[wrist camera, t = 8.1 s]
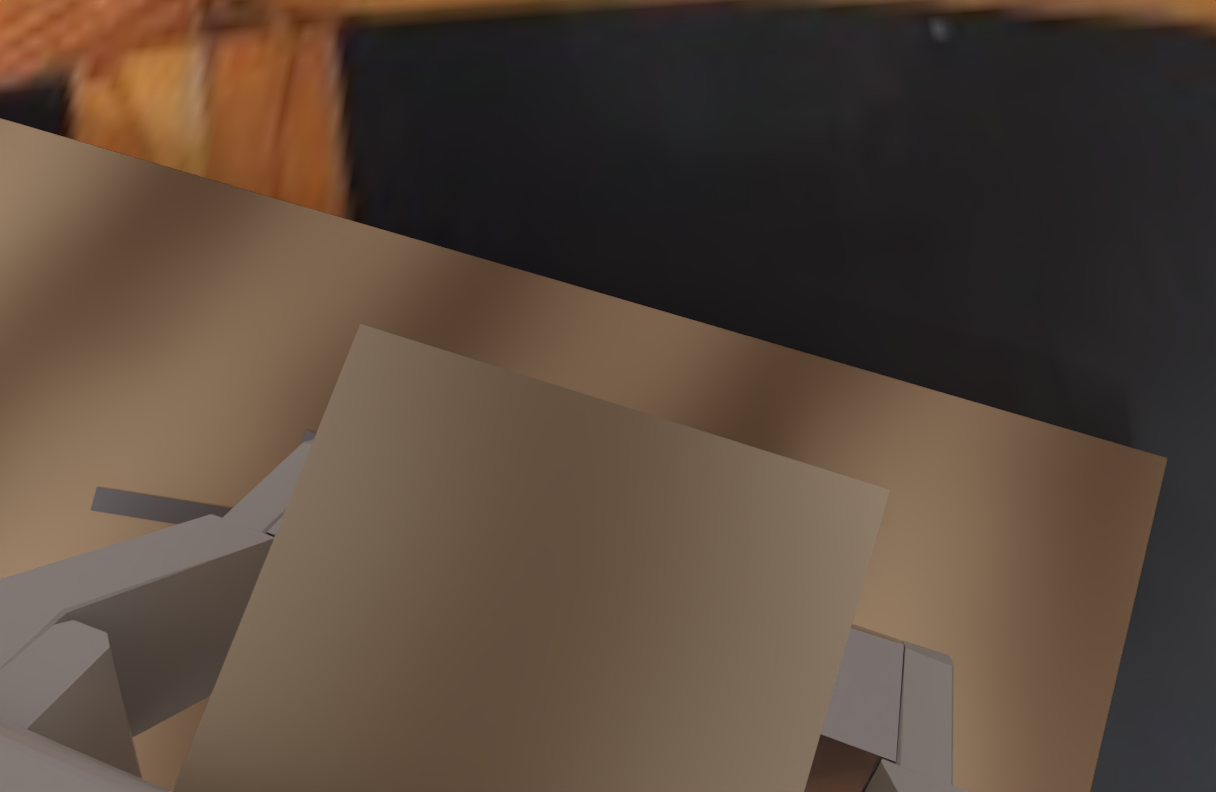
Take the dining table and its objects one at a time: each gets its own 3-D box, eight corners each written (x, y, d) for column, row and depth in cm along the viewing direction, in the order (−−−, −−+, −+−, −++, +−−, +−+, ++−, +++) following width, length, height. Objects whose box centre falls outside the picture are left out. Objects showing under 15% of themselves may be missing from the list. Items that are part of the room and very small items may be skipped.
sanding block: (795, 551, 15) (890, 489, 7) (722, 795, 15) (732, 1044, 6) (542, 467, 16) (360, 323, 8) (462, 694, 15) (168, 800, 7)
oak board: (1135, 468, 17) (1167, 457, 15) (980, 1123, 15) (1002, 1168, 13) (-47, 119, 21) (-92, 91, 20) (-281, 584, 19) (-346, 583, 18)
